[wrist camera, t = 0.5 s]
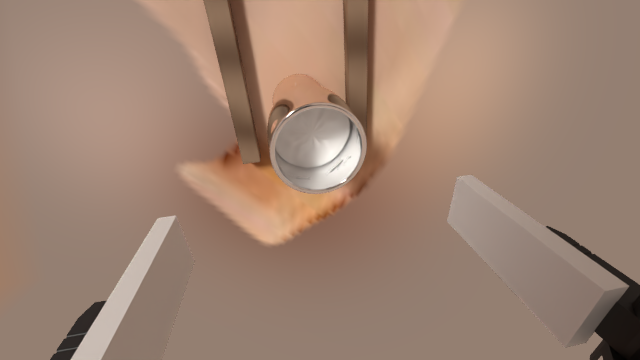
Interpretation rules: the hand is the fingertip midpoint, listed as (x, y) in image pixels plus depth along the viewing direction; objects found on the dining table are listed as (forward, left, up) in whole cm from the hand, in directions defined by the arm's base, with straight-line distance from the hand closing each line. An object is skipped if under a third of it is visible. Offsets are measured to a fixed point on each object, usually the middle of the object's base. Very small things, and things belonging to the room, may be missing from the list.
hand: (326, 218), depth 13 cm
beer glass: (-1, +1, -21) cm, 21 cm away
